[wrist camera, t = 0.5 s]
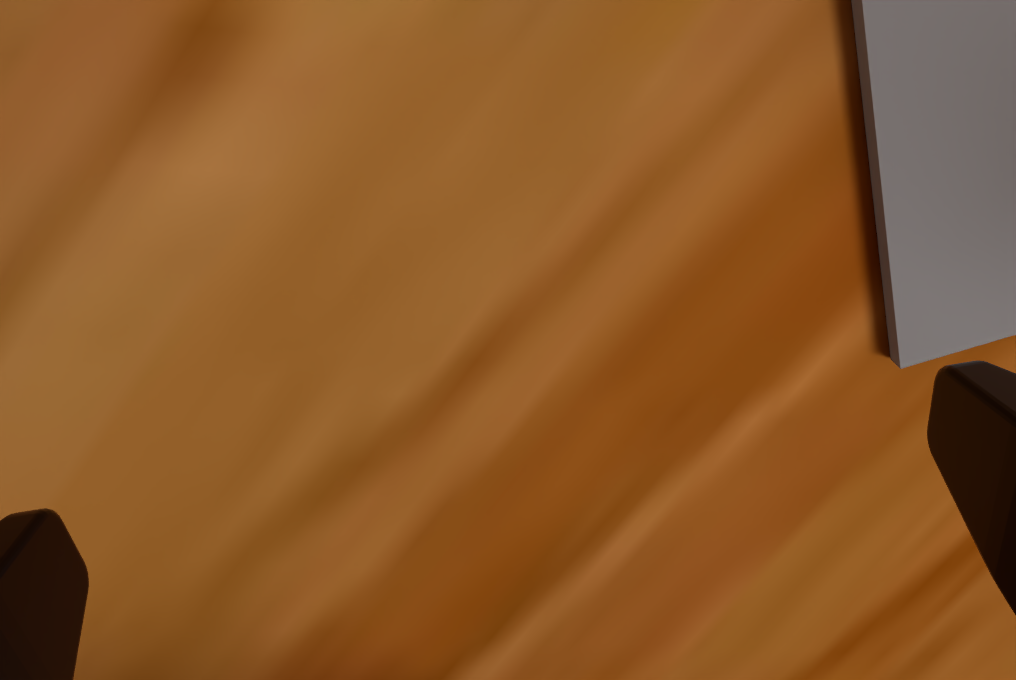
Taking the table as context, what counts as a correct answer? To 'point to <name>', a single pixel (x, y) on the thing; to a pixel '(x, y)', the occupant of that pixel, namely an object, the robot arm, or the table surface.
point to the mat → (941, 168)
